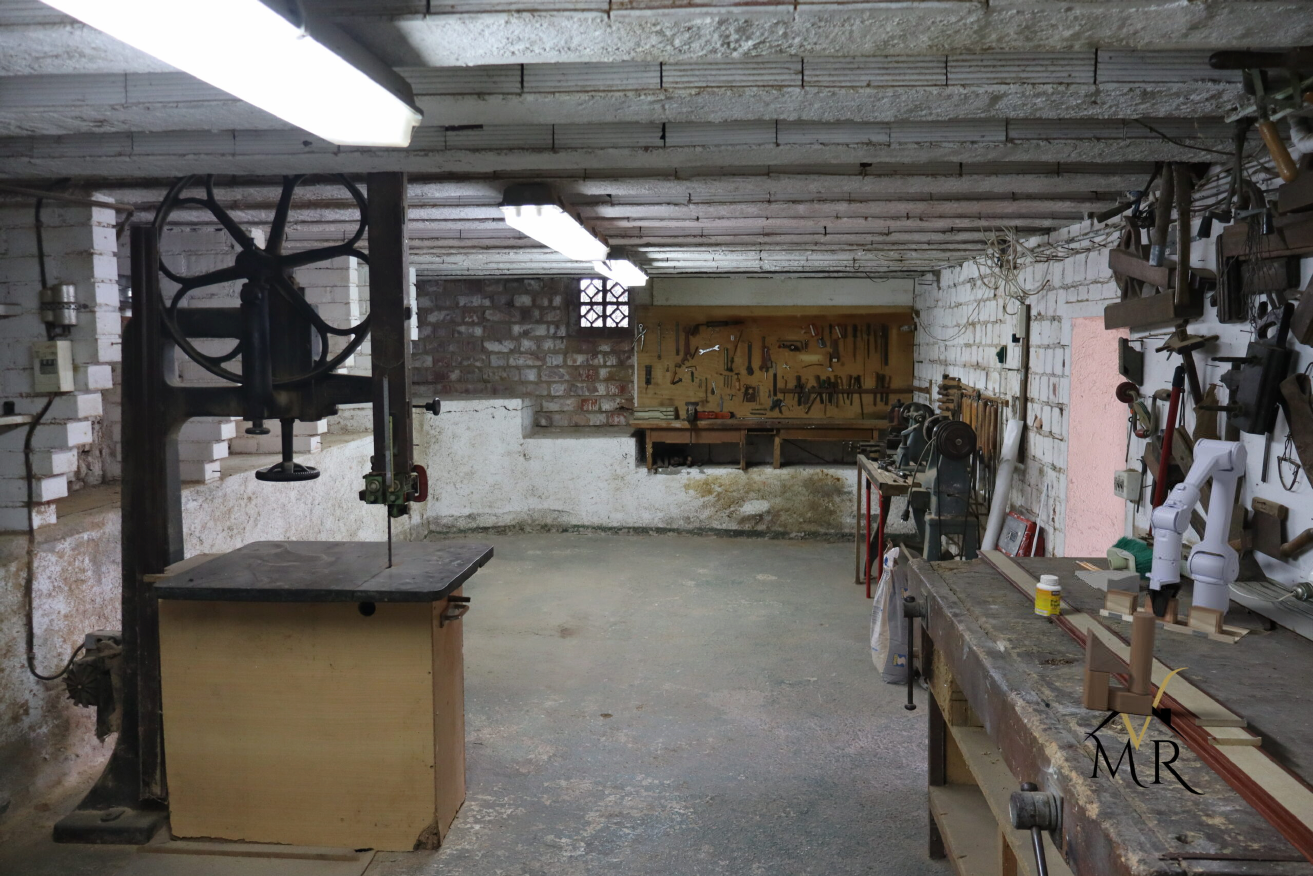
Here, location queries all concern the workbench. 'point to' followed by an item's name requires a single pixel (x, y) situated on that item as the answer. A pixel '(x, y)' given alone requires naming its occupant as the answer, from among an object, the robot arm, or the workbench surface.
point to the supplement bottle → (1048, 596)
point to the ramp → (1111, 579)
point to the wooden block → (1121, 670)
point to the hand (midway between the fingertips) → (1162, 614)
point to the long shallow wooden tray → (1186, 627)
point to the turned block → (1171, 611)
